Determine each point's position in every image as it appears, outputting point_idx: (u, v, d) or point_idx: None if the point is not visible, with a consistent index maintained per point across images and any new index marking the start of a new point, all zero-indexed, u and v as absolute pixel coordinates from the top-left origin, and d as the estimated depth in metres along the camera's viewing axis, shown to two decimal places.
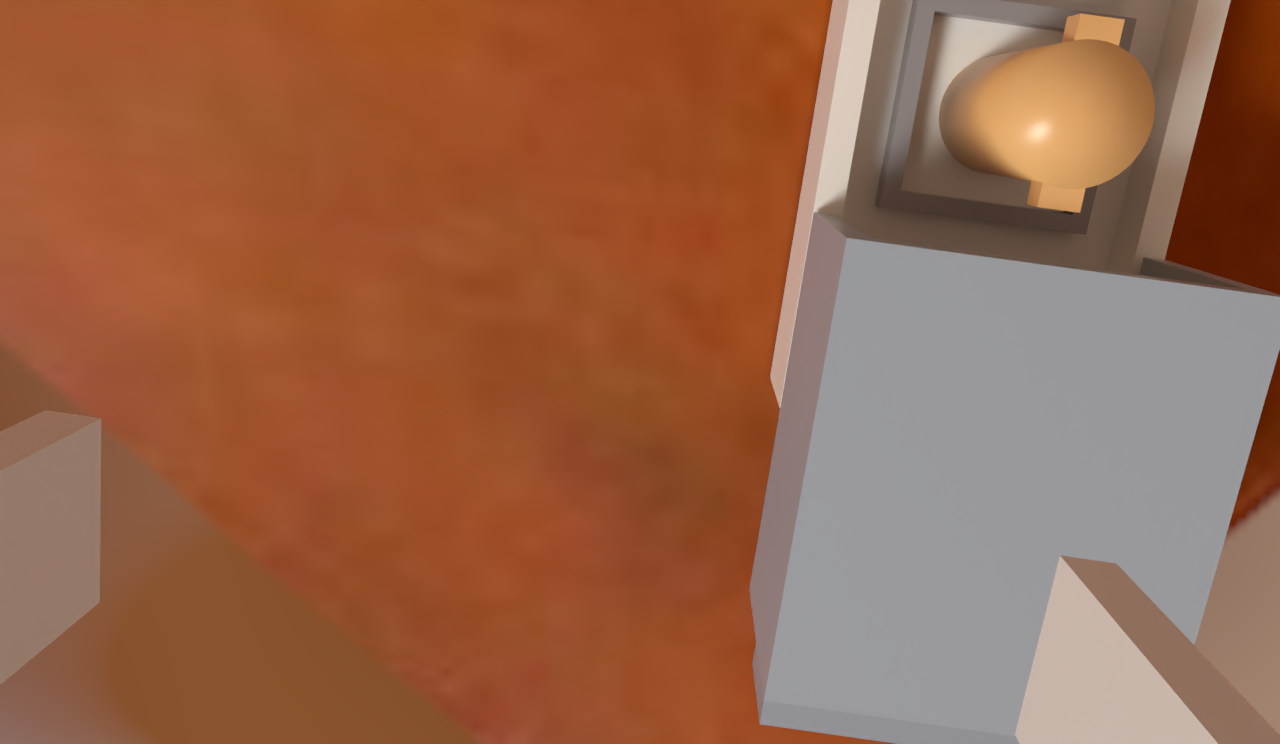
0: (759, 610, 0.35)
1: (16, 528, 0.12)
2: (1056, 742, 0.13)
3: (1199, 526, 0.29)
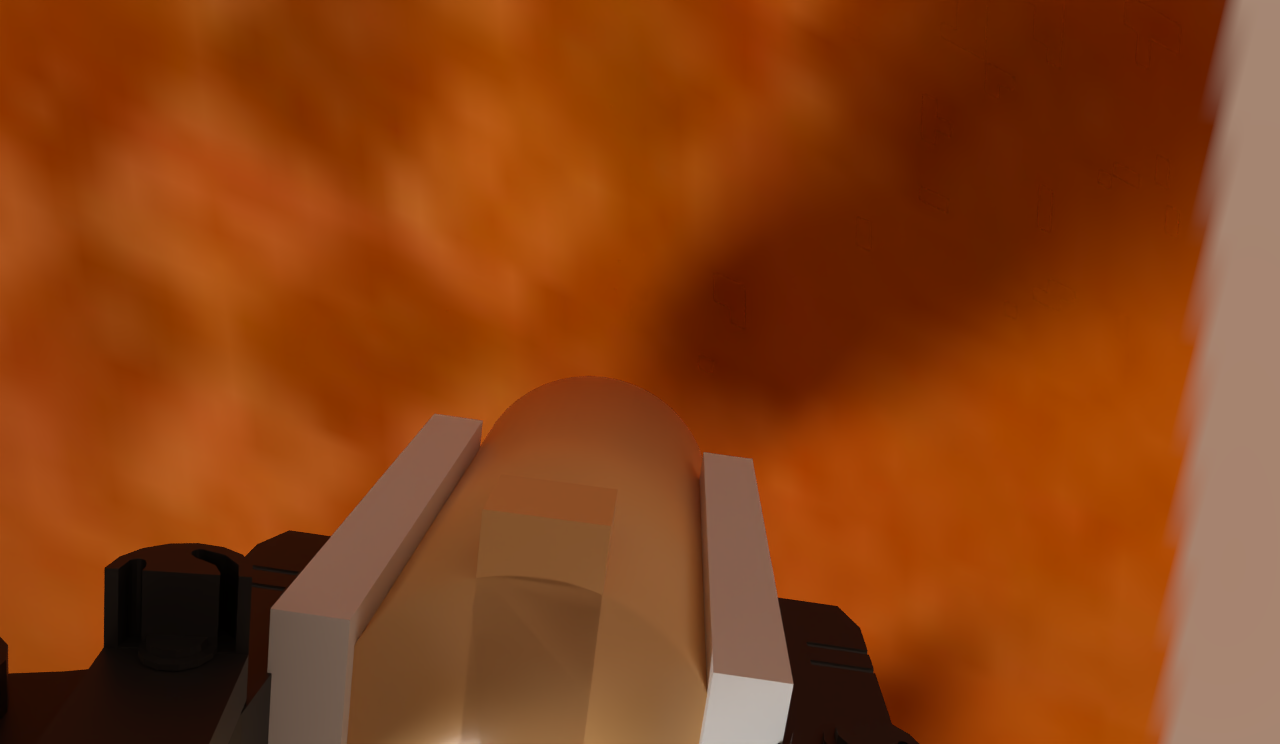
0: None
1: None
2: None
3: None
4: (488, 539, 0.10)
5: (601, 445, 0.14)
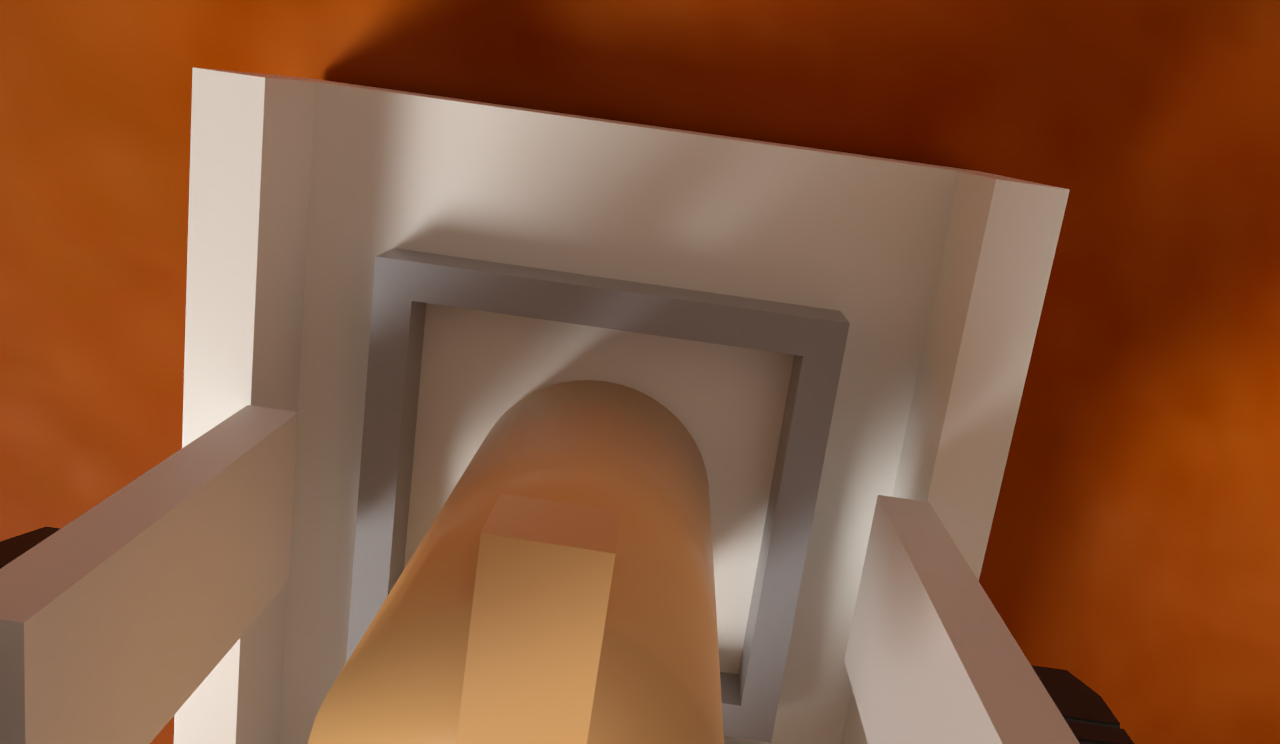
0: None
1: (244, 510, 0.14)
2: (866, 661, 0.14)
3: None
4: (486, 564, 0.09)
5: (603, 457, 0.14)
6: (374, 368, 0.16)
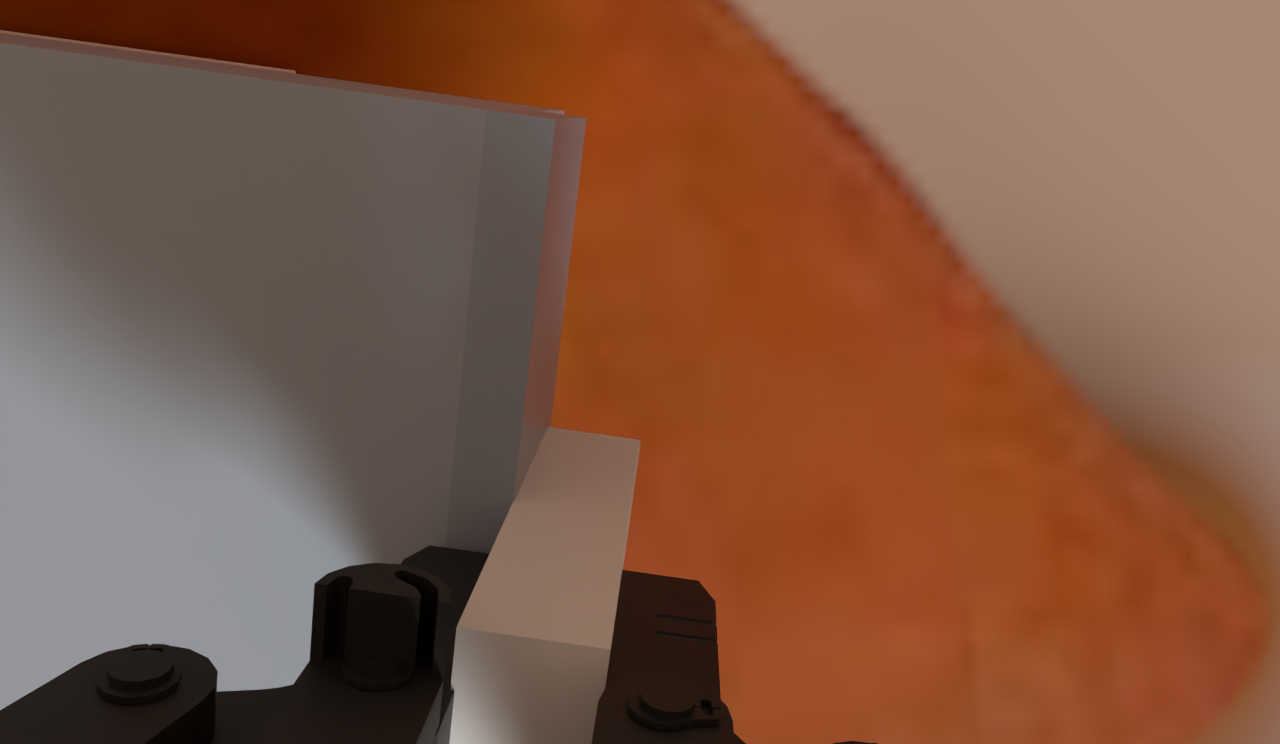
0: None
1: None
2: None
3: None
4: None
5: None
6: None
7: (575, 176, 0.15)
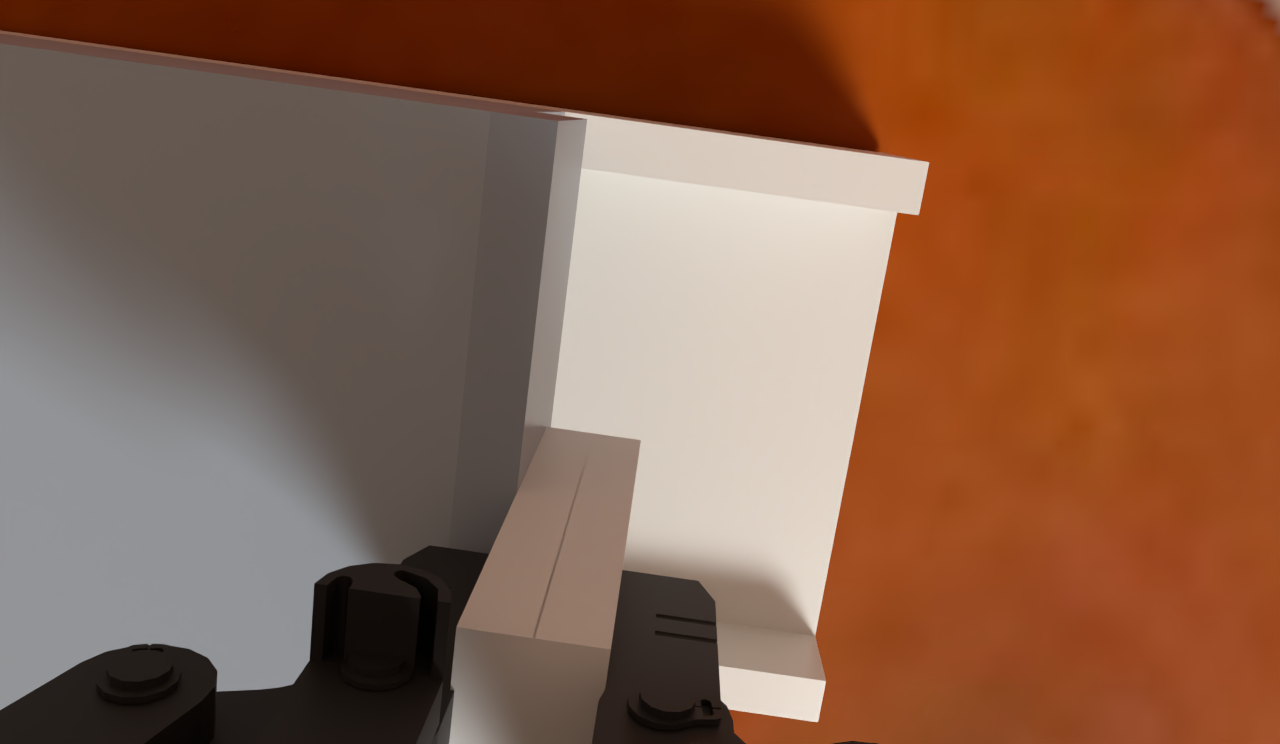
0: None
1: None
2: None
3: None
4: None
5: None
6: None
7: (576, 176, 0.15)
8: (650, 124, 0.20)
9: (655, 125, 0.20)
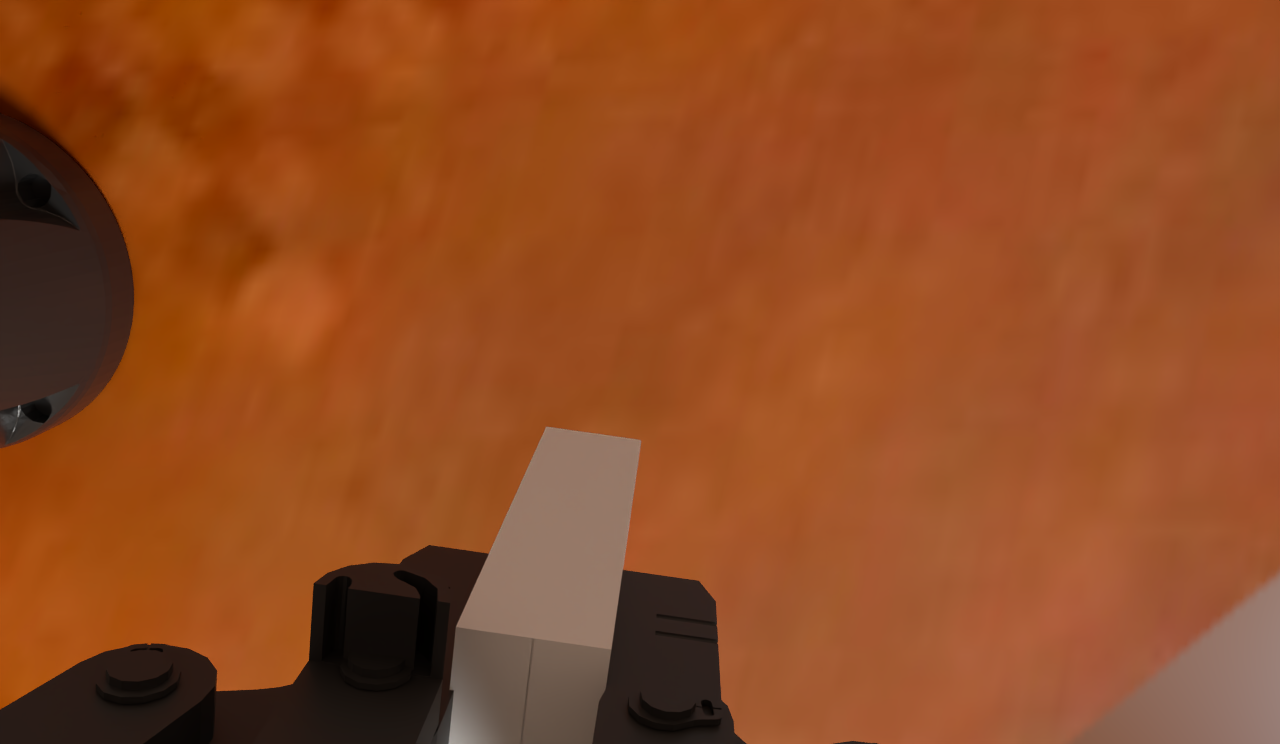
0: None
1: None
2: None
3: None
4: None
5: None
6: None
7: None
8: None
9: None
